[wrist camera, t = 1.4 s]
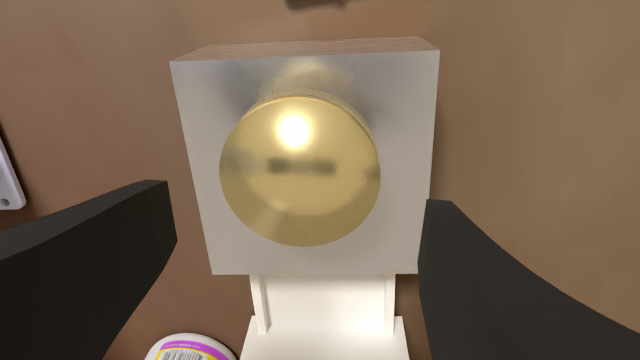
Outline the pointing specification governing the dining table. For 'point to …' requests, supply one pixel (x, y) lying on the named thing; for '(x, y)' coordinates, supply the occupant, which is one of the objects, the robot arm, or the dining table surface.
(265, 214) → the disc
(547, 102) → the dining table surface
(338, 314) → the tray
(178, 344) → the supplement bottle
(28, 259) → the robot arm
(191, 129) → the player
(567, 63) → the dining table surface
